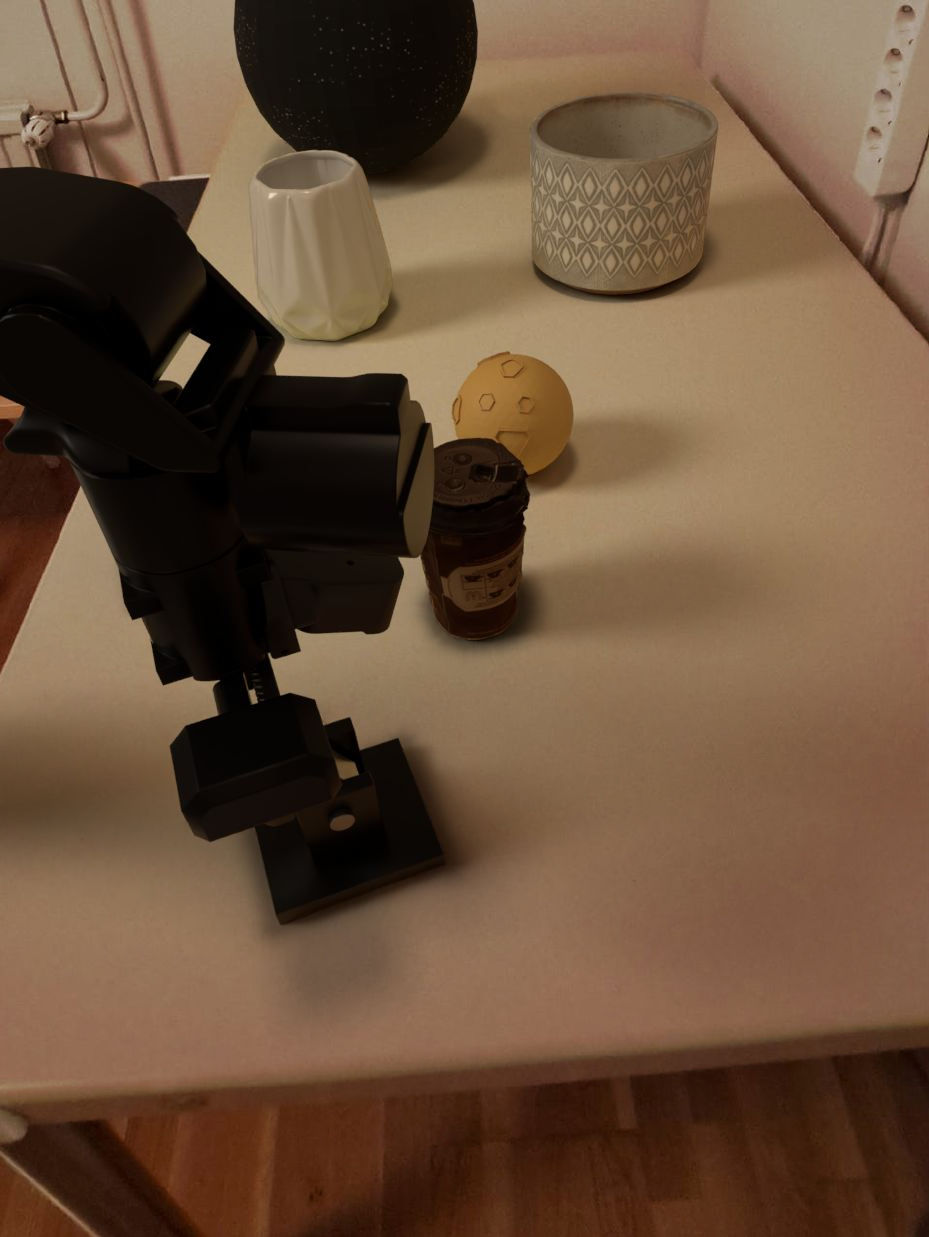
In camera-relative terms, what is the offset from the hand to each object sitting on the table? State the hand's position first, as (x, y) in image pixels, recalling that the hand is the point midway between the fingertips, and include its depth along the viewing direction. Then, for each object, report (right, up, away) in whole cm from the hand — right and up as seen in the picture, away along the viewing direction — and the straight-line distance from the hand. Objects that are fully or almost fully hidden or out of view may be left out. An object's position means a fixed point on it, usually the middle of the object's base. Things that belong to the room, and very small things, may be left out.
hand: (264, 750), depth 49 cm
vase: (-4, +39, +51) cm, 64 cm away
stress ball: (+15, +20, +31) cm, 40 cm away
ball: (-2, +68, +78) cm, 104 cm away
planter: (+27, +46, +55) cm, 77 cm away
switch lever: (0, -1, +1) cm, 2 cm away
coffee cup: (+11, +7, +20) cm, 24 cm away
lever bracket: (+3, -6, +8) cm, 10 cm away
